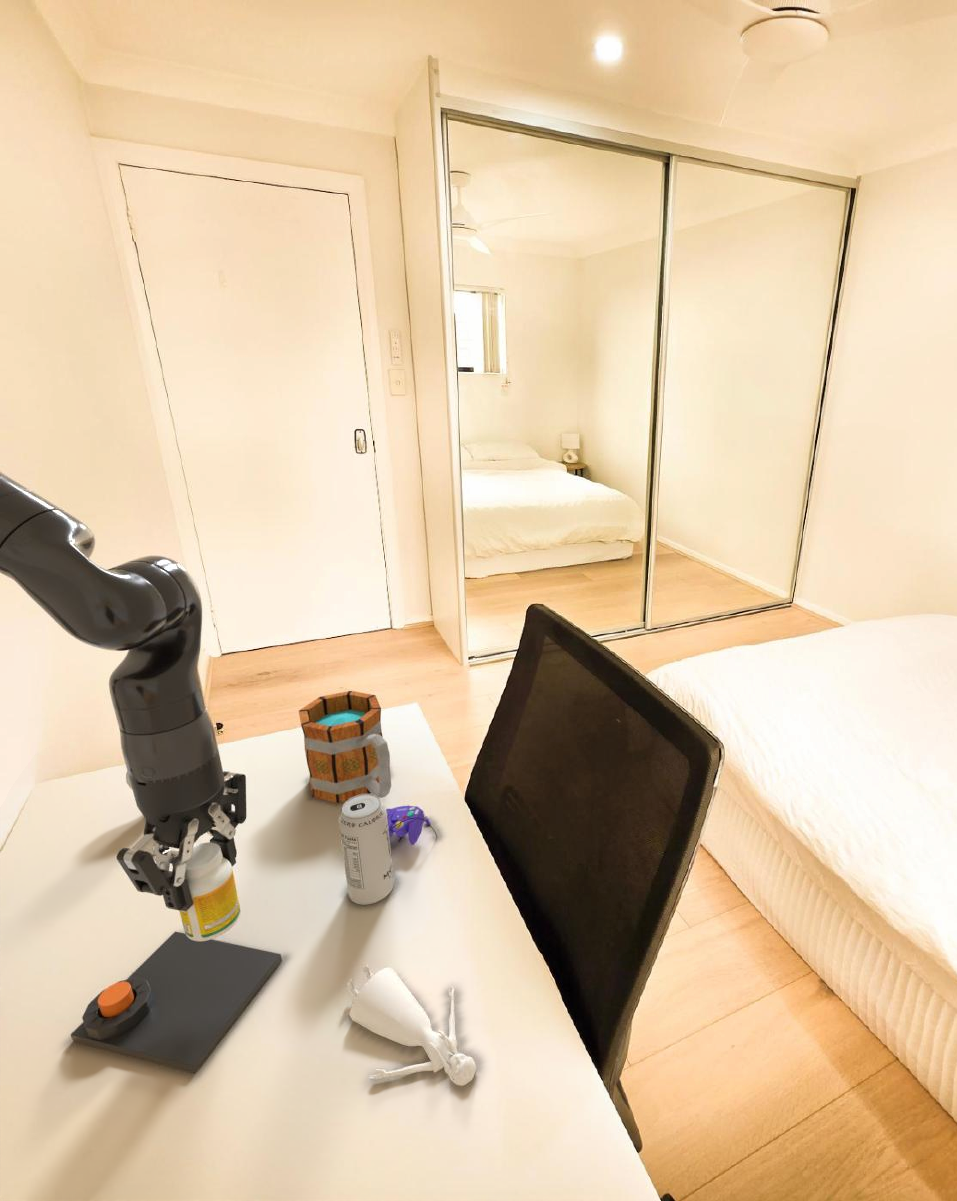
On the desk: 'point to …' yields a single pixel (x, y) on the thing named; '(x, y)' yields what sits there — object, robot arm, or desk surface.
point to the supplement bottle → (210, 894)
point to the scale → (181, 1002)
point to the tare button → (115, 999)
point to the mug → (345, 746)
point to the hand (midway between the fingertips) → (204, 885)
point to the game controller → (406, 822)
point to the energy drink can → (366, 849)
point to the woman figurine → (407, 1025)
